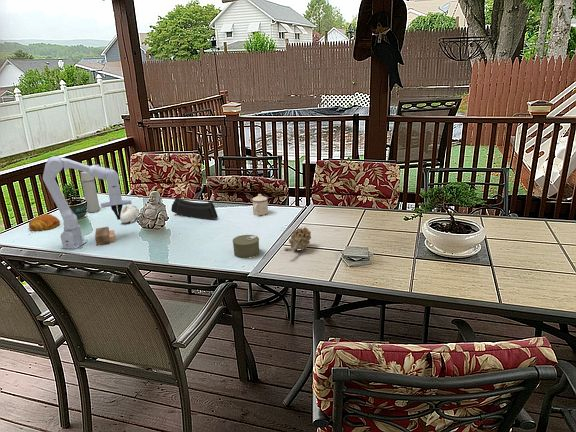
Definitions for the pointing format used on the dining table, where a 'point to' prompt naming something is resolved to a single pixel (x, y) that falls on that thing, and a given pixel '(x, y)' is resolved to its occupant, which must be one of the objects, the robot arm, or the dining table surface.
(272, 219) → the dining table surface
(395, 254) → the dining table surface
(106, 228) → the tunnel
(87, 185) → the water bottle
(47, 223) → the croissant
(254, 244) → the can
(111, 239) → the peach rectangular prism
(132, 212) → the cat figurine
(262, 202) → the teacup with lid
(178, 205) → the magazine
